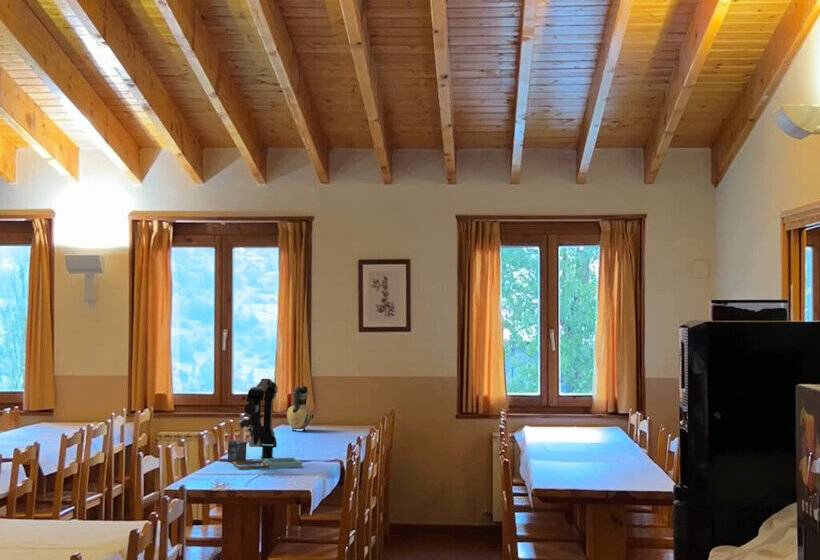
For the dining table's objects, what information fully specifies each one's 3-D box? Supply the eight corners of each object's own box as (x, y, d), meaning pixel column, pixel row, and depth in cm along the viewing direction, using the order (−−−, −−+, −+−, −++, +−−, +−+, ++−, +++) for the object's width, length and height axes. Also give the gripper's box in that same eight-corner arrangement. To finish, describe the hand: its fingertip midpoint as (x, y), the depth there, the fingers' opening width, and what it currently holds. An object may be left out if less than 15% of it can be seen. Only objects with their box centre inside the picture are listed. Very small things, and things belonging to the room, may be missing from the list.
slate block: (248, 445, 443) (249, 435, 443) (257, 445, 445) (258, 435, 445) (250, 447, 439) (251, 437, 439) (259, 446, 441) (259, 436, 441)
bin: (264, 463, 451) (264, 458, 452) (293, 462, 457) (293, 457, 457) (271, 468, 437) (271, 463, 437) (301, 467, 443) (301, 462, 443)
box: (227, 461, 453) (228, 441, 454) (234, 460, 458) (235, 440, 459) (238, 463, 449) (239, 442, 450) (246, 462, 454) (246, 441, 455)
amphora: (306, 433, 579) (308, 387, 581) (282, 431, 582) (284, 386, 584) (314, 430, 597) (316, 386, 598) (290, 428, 600) (292, 385, 601)
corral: (232, 464, 445) (232, 461, 445) (262, 463, 451) (262, 460, 451) (238, 469, 431) (238, 466, 431) (269, 468, 437) (269, 465, 437)
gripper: (236, 411, 448) (235, 441, 448) (243, 415, 431) (242, 446, 430) (257, 410, 453) (256, 441, 452) (265, 414, 435) (264, 446, 435)
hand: (254, 443), depth 442 cm, fingers closed on slate block, 4 cm apart
